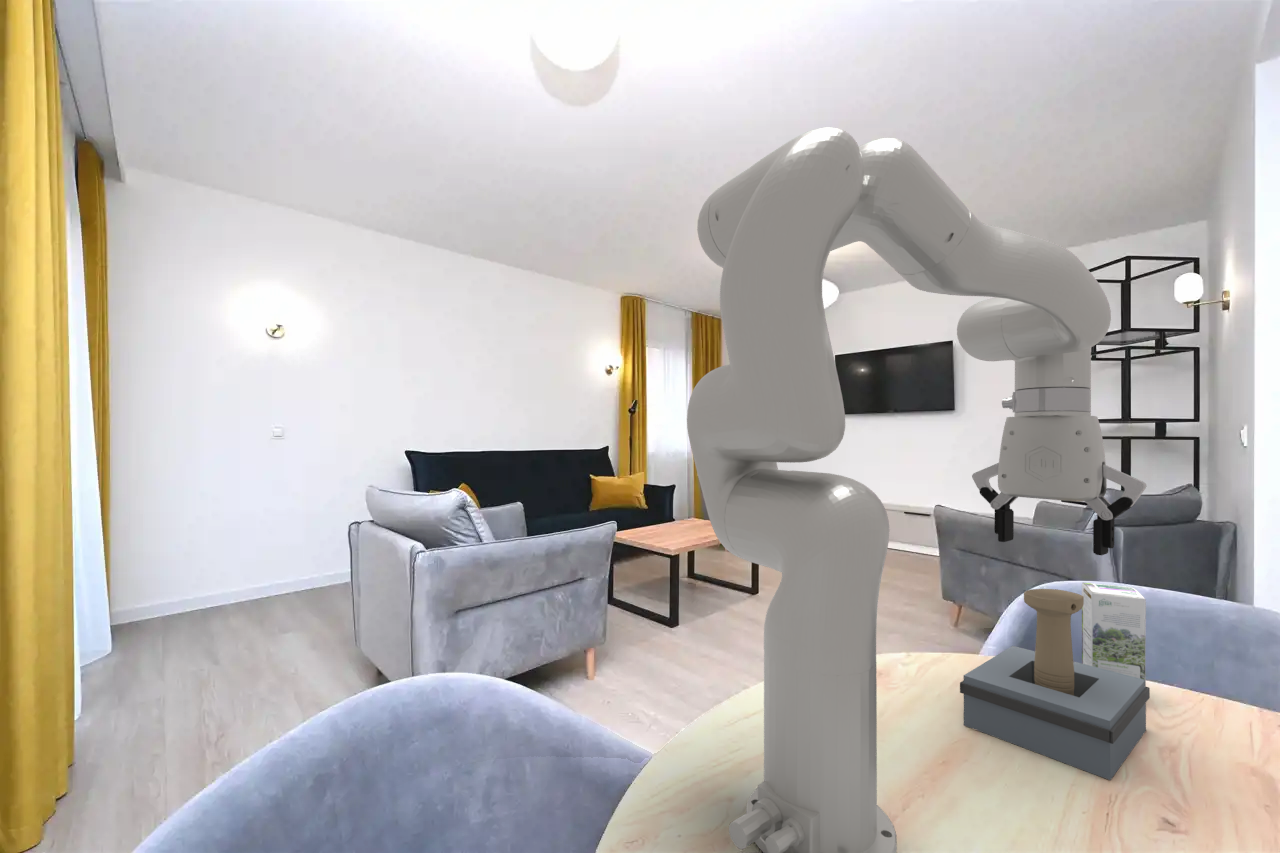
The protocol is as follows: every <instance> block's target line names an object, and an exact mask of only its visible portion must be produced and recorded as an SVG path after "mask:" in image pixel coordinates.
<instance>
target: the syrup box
mask: <svg viewBox="0 0 1280 853" xmlns="http://www.w3.org/2000/svg"><path fill="white" fill-rule="evenodd" d="M1081 595H1082V596H1084V605H1083V607H1082V609H1081V663H1082V664H1086V665H1090V666H1094V667H1098V668H1102V669H1105V670H1109V671H1113V672H1117V673H1121V674H1125V675H1129V676H1133V677H1136V678H1140V679H1144V680H1147V679H1146V663H1147V662H1146V661H1147V660H1146V646H1147V645H1146V644H1147V643H1146V636H1147V635H1146V632H1147V631H1146V629H1147V628H1146V626H1147V625H1146V624H1147V623H1146V622H1147V619H1146V618H1147V614H1146V613H1147V612H1146V611H1147V601H1146V600H1147V599H1146V598H1145V597H1144V596H1143V595H1142V594H1141V593H1140V592H1139V591H1138V590H1137V589H1136V588H1134V587H1131V586H1124V585H1111V584H1104V583H1103V584H1101V583H1094V582H1082V583H1081Z"/></svg>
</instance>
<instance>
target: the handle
mask: <svg viewBox="0 0 1280 853" xmlns="http://www.w3.org/2000/svg"><path fill="white" fill-rule="evenodd" d="M1023 603H1025V605H1027V606H1029V607H1030V608H1032V609H1033V610H1035V612H1036V634H1035V648H1034V649H1035V650H1034V651H1035V662H1034V672H1035V673H1034V680H1035V684H1036V685H1039V686H1042V687H1046V688H1049V689H1052V690H1056V691H1059V692H1063V693H1066V694H1069V695H1073V696H1074V663H1073V661H1074V654H1073V641H1072V627H1071V624H1072V623H1071V622H1072V621H1071V620H1072V619H1071V616H1072V615H1073V614H1076V613H1077V612H1080V611H1082V607H1083V605H1084V596H1082V594H1079V593H1075V592H1074V591H1073V592H1072V591H1067V590H1063V589H1058V588H1057V589H1055V588H1034V589H1027V590H1025V591H1024V592H1023Z"/></svg>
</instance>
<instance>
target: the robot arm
mask: <svg viewBox="0 0 1280 853" xmlns="http://www.w3.org/2000/svg"><path fill="white" fill-rule="evenodd" d="M696 230H697V237H698V240H699V244H700V246H701V248H702V250H703V251H704V253H705V255H706V256H707V257H708V258H709V260H710V261H712V262H713V263H714V264H716V265H717V266H719V267H720V268H722V273H721V278H720V284H719V285H720V286H719V287H720V288H719V307H720V316H721V322H722V328H723V333H724V340H725V345H726V350H727V355H728V360H729V361H728V362H729V364H726V365H722V366H719V367H716V368H714V369H712V370H711V371H709V372H707V373H706V374H705V375H704V376H703V377H701V378H700V380H698V382H697V383H696V385H695V387H694V388H693V389H692V392H691V394H690V397H689V400H688V405H687V412H686V413H687V415H686V429H687V435H688V440H689V443H690V444H689V445H690V448H691V453H692V457H693V461H694V464H695V470H696V473H697V478H698V481H699V484H700V489H701V492H702V497H703V500H704V503H705V504H704V505H705V508H706V511H707V512H706V513H707V516H708V519H709V522H710V525H711V528H712V529H713V532H714V534H715V536H716V538H717V539H718V541H719V543H720V544H721V545H722V546H723V548H725V550H727V551H728V552H729V553H731V555H733V556H735V557H737V558H739V559H742V560H744V561H746V562H750V563H752V564H756V565H759V566H762V567H765V568H766V567H767V568H770V569H772V570H775V571H777V572H780V573H781V580H780V581H779V585H778V587H777V589H776V592H775V593H774V594H773V596H772V599H771V601H770V603H769V605H768V608H767V611H766V614H765V619H764V627H763V781H762V782H760V783H758V784H757V788H755V789H754V791H753V792H752V793H751V794H750V796H749V798H748V799H747V803H746V813H744V814H743V815H741V816H739V817H737V818H736V819H735V820H733V821H731V822H730V824H729V826H728V833H729V837H730V840H731V841H732V843H733V845H735V847H737V848H738V849H740V850H744V849H745V848H747V847H748V846H750V845H752V844H753V843H755V844H756V845H757V847H758V848H759V850H760V851H762V852H763V853H897V852H898V851H897V850H898V844H897V833H896V832H897V831H896V830H895V826H894V824H893V822H892V821H891V819H890V817H889V816H888V815H887V814H886V813H885V811H884V810H883V809H882V808H881V807H880V806H879V805H878V802H877V801H878V798H877V796H878V794H877V792H878V790H877V787H878V785H877V782H878V778H877V776H878V775H877V774H878V772H877V770H878V768H877V766H878V764H877V763H878V762H877V760H878V758H877V757H878V756H877V755H878V754H877V747H878V746H877V743H878V742H877V736H878V735H877V732H878V731H877V728H878V727H877V725H878V724H877V723H878V722H877V716H878V715H877V714H878V713H877V708H878V707H877V703H878V702H877V698H878V697H877V694H878V693H877V690H878V689H877V687H878V686H877V682H878V679H877V628H878V627H877V624H878V623H877V621H878V606H879V605H878V603H879V597H880V587H881V583H882V577H883V571H884V567H885V562H886V558H887V553H888V548H889V543H890V521H889V515H888V513H887V511H886V508H885V505H884V504H883V501H882V500H881V499H880V498H879V496H878V495H877V494H876V492H874V491H873V490H872V489H871V488H869V487H868V486H867V485H865V484H864V483H862V482H860V481H858V480H856V479H853V478H850V477H847V476H845V475H839V474H835V473H828V472H817V471H816V472H815V471H802V470H783V469H782V470H781V469H779V468H778V463H790V464H791V463H808V462H809V463H810V462H814V461H817V460H821V459H823V458H825V457H826V458H827V457H828V456H829V455H830V454H832V453H833V452H834V451H836V450H837V449H838V448H839V446H840V444H841V442H842V440H843V438H844V436H845V430H846V412H845V408H844V407H845V406H844V405H845V404H844V400H843V394H842V390H841V389H842V388H841V385H840V380H839V375H838V370H837V366H836V361H835V358H834V357H835V356H834V353H833V346H832V342H831V337H830V332H829V328H828V323H827V319H826V312H825V308H824V300H823V298H824V297H823V278H824V274H825V273H824V272H825V268H826V265H827V264H826V263H827V261H828V258H829V255H830V252H832V251H835V250H838V249H840V248H843V247H846V246H848V245H852V244H854V243H856V242H862V243H864V244H866V245H867V246H868V247H869V248H870V249H872V251H874V252H875V253H876V254H877V255H878V256H879V257H880V258H882V259H883V260H884V261H885V262H886V263H887V264H888V265H889V266H890V267H891V268H893V269H894V271H896V272H897V273H898V275H900V276H901V277H902V278H903V279H904V280H905V281H906V282H907V283H908V284H910V286H911V287H913V288H915V289H917V290H919V291H922V292H927V293H930V294H932V293H933V294H937V295H938V294H940V295H948V296H959V297H960V296H962V297H983V298H984V297H987V299H984V300H982V301H979V302H976V303H974V304H973V305H971V306H969V307H968V308H967V309H965V311H964V312H963V313H962V315H961V316H960V317H959V319H958V323H957V327H956V335H957V336H956V337H957V340H958V342H959V344H960V346H961V347H962V348H961V349H963V350H964V352H965V353H967V354H968V355H969V356H971V357H972V358H974V359H977V360H980V361H985V362H1002V361H1014V391H1012V395H1011V396H1009V397H1004V398H1002V399H1001V405H1002V408H1003V409H1009V410H1011V411H1012V413H1014V416H1006V418H1005V422H1004V426H1003V430H1002V436H1001V441H1000V442H1001V443H1000V449H999V450H1000V451H999V458H998V463H995V464H993V465H990V466H987V467H986V468H985V467H984V468H983V469H981V470H977V471H976V472H973V473H972V474H971V477H972V480H973V483H974V484H975V487H977V489H978V490H979V494H980V496H981V497H982V498H984V500H985V501H986V502H987V503H989V505H990V508H992V509H993V510H994V534H995V535H997V540H998V542H1001V543H1006V542H1010V541H1013V540H1014V532H1015V531H1014V530H1015V529H1014V525H1015V521H1014V519H1015V516H1014V515H1015V514H1014V510H1013V509H1012V508H1011V504H1013V503H1014V502H1015V501H1016V500H1017V499H1018V498H1027V499H1038V500H1039V499H1040V500H1041V499H1042V500H1051V501H1065V502H1084V503H1085V504H1087V505H1088V506H1089V507H1090V508H1091V509H1092V511H1094V512H1095V513H1096V515H1097V516H1096V519H1094V520H1093V525H1092V527H1093V530H1092V531H1093V533H1092V537H1093V539H1092V540H1093V541H1092V544H1093V545H1092V551H1093V554H1094V555H1096V556H1104V555H1107V554H1108V553H1109V549H1114V548H1115V519H1117V518H1118V517H1119V516H1121V515H1122V514H1124V513H1125V512H1126V511H1128V510H1130V509H1132V507H1134V506H1135V504H1136V503H1137V501H1138V500H1139V498H1140V497H1141V496H1142V494H1143V493H1144V491H1145V490H1146V489H1147V483H1146V482H1144V481H1143V480H1140V479H1138V478H1136V477H1133V476H1131V475H1129V474H1127V473H1124V472H1122V471H1120V470H1117V469H1116V468H1113V467H1112V466H1109V465H1106V464H1107V463H1106V455H1105V447H1104V440H1103V433H1102V430H1101V426H1100V422H1099V417H1098V416H1096V415H1092V413H1091V412H1092V389H1091V388H1092V347H1095V345H1097V344H1099V343H1100V342H1101V341H1102V340H1103V339H1104V338H1105V336H1106V334H1108V331H1109V328H1110V326H1111V321H1112V319H1111V318H1112V317H1111V316H1112V315H1111V312H1112V311H1111V307H1110V303H1109V299H1108V297H1107V295H1106V293H1105V292H1104V288H1102V286H1101V285H1100V283H1099V282H1098V280H1097V279H1096V277H1095V276H1094V275H1093V274H1092V273H1091V272H1090V270H1089V269H1088V268H1087V266H1085V264H1084V263H1083V262H1082V261H1081V259H1079V257H1077V256H1076V254H1074V252H1072V251H1070V250H1068V249H1067V248H1066V247H1064V246H1062V245H1060V244H1057V243H1055V242H1053V241H1050V240H1048V239H1044V238H1041V237H1038V236H1034V235H1031V234H1027V233H1024V232H1021V231H1016V230H1013V229H1009V228H1005V227H1001V226H995V225H989V224H986V223H983V222H982V221H981V220H980V219H979V218H978V217H977V216H976V215H975V214H974V213H973V212H972V211H971V210H970V208H969V207H968V206H967V205H966V204H965V203H964V201H963V200H961V199H960V198H959V196H958V195H957V194H956V193H955V192H954V191H953V190H952V189H951V188H950V187H949V185H948V184H947V183H946V182H945V181H944V179H942V178H941V176H940V175H938V173H937V172H936V171H935V170H934V168H932V167H931V166H930V164H929V163H928V162H927V161H926V160H925V159H924V158H923V157H922V155H921V154H919V152H918V151H917V150H916V149H915V148H914V147H913V146H911V145H910V144H909V143H908V142H907V141H904V140H902V139H899V138H896V137H883V138H882V137H881V138H878V139H874V140H872V141H871V140H870V141H869V142H866V143H864V144H862V145H860V146H859V145H858V143H857V141H856V139H855V138H854V137H853V136H852V134H850V133H849V132H847V131H846V130H844V129H840V128H838V127H831V126H830V127H826V126H825V127H820V128H816V129H812V130H809V131H807V132H804V133H802V134H800V135H798V136H796V137H794V138H792V139H791V140H789V141H787V142H786V143H784V144H782V145H781V146H779V147H777V148H776V149H775V150H773V151H772V152H770V153H768V154H767V155H765V156H763V158H761V159H760V160H758V161H756V163H754V164H752V166H750V167H749V168H747V169H745V170H743V172H741V173H739V174H738V175H736V176H734V177H733V178H731V179H730V180H728V181H727V182H725V183H723V184H722V185H721V186H720V187H718V188H717V189H716V190H715V191H713V192H712V193H711V194H710V195H709V196H708V197H707V199H706V200H705V202H704V203H703V205H702V207H701V209H700V211H699V214H698V219H697V229H696ZM989 297H990V298H989ZM994 477H997V487H998V490H999V492H997V491H996V490H995V489H994V488H993V487H992V485H991V483H990V480H991V478H994ZM1108 480H1109V481H1111V482H1113V483H1115V484H1117V485H1120V486H1122V487H1123V489H1124V490H1123V493H1122V494H1121V496H1120V497H1119V498H1118V499H1116V500H1115V501H1114V502H1112V503H1111V502H1110V501H1109V500H1108V499H1107V498H1106V497H1105V496H1106V493H1107V488H1108Z"/></svg>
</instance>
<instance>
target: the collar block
mask: <svg viewBox="0 0 1280 853" xmlns="http://www.w3.org/2000/svg"><path fill="white" fill-rule="evenodd" d="M1034 662H1035V650H1031V649H1027V648H1023V647H1018V646H1015V645H1011V646H1010V647H1008V648H1006V649H1004V650H1003V651H1001V652H1000V653H998V654H996V655H995V656H993V657H991V658H990V659H989V660H987V661H985V662H983V663H981V664H980V665H978V666H977V667H975V668H973V669H972V670H970V671H968V672H967V673H965V674H963V679H962V681H960V682H959V693H961V694H962V695H963V726H965V727H968V728H970V729H973V730H975V731H978V732H981V733H984V734H986V735H988V736H992V737H994V738H996V739H1000V740H1001V741H1005V742H1007V743H1010V744H1012V745H1013V744H1014V745H1016V746H1018V747H1020V748H1024V749H1026V750H1029V751H1031V752H1034V753H1037V754H1038V755H1039V754H1040V755H1042V756H1044V757H1048V758H1050V759H1052V760H1055V761H1058V762H1061V763H1063V764H1066V765H1068V766H1072V767H1074V768H1077V769H1079V770H1082V771H1085V772H1086V773H1090V774H1092V775H1094V776H1098V777H1100V778H1103V779H1106V780H1109V781H1111V780H1112V779H1113V777H1115V775H1116V773H1117V772H1118V771H1119V769H1120V767H1121V766H1122V765H1123V763H1124V762H1125V761H1126V759H1127V758H1128V756H1129V755H1130V754H1131V752H1132V750H1134V748H1135V747H1136V745H1137V744H1138V743H1139V741H1140V740H1141V738H1142V737H1143V735H1144V734H1145V733H1146V731H1147V702H1148V700H1150V697H1151V696H1150V691H1151V690H1150V689H1151V688H1150V687H1149V686H1146V684H1147V683H1146V682H1147V681H1146V680H1147V679H1146V680H1144V679H1140V678H1136V677H1133V676H1129V675H1125V674H1121V673H1117V672H1113V671H1109V670H1105V669H1102V668H1098V667H1094V666H1090V665H1086V664H1082V662H1078V661H1075V660H1073V663H1074V696H1073V695H1069V694H1066V693H1063V692H1059V691H1056V690H1052V689H1049V688H1046V687H1042V686H1039V685H1036V684H1035V680H1034V673H1035V672H1034Z"/></svg>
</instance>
